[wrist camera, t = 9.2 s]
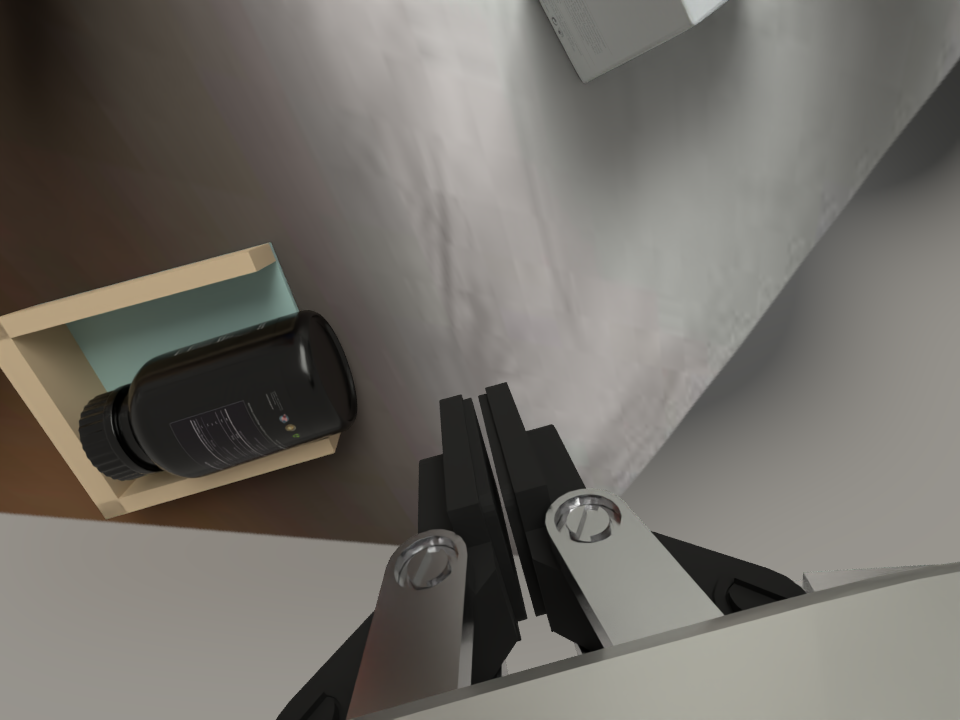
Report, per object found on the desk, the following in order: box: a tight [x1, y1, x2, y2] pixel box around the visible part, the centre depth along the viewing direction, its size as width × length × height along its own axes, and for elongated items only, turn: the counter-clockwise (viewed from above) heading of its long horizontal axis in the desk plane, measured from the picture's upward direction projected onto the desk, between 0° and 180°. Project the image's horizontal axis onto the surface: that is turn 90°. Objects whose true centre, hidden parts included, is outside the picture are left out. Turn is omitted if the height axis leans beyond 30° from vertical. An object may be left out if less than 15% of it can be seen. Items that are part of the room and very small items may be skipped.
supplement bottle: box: [78, 310, 357, 481], centre depth 25 cm, size 7×7×12 cm
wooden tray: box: [0, 242, 340, 519], centre depth 26 cm, size 13×12×4 cm
